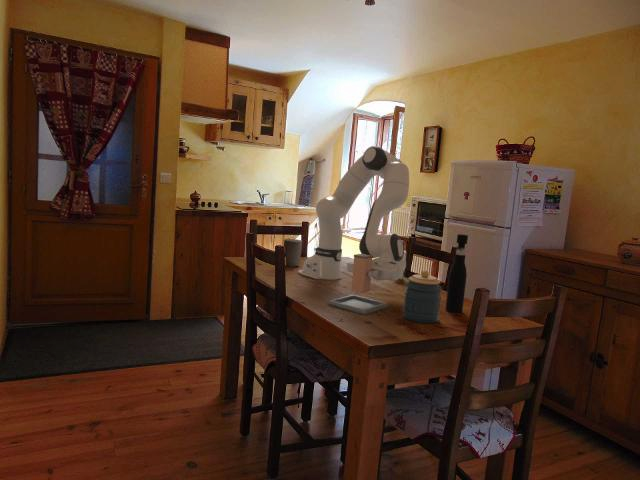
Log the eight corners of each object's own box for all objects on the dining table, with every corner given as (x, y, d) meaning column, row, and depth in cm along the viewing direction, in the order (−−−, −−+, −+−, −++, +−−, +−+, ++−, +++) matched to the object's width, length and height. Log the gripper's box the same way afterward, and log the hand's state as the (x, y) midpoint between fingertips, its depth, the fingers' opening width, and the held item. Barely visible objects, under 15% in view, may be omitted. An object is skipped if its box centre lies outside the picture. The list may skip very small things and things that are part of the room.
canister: (415, 324, 163) (421, 274, 161) (395, 313, 175) (400, 266, 172) (446, 322, 168) (451, 274, 166) (424, 312, 180) (429, 266, 178)
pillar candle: (279, 265, 249) (282, 237, 247) (284, 262, 259) (286, 235, 257) (298, 268, 248) (300, 239, 246) (301, 264, 257) (304, 237, 255)
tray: (328, 305, 179) (329, 300, 179) (352, 298, 192) (353, 294, 192) (364, 315, 170) (364, 310, 169) (386, 307, 182) (387, 303, 182)
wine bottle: (459, 314, 181) (469, 236, 177) (443, 310, 184) (452, 234, 181) (464, 311, 187) (473, 235, 183) (448, 307, 190) (456, 233, 186)
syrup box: (402, 277, 244) (405, 249, 242) (403, 280, 238) (406, 251, 236) (391, 276, 244) (394, 248, 242) (392, 278, 238) (394, 250, 237)
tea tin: (351, 290, 179) (353, 254, 178) (358, 288, 183) (361, 253, 182) (362, 292, 176) (365, 256, 175) (370, 290, 180) (373, 255, 179)
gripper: (358, 257, 195) (339, 260, 184) (403, 265, 183) (384, 268, 172) (357, 272, 196) (337, 276, 185) (401, 281, 183) (383, 285, 173)
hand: (360, 272), depth 178 cm, fingers closed on tea tin, 5 cm apart
